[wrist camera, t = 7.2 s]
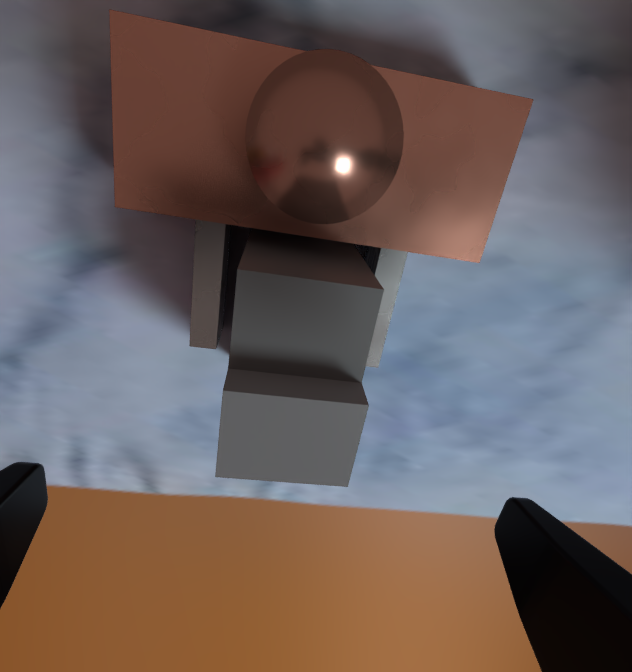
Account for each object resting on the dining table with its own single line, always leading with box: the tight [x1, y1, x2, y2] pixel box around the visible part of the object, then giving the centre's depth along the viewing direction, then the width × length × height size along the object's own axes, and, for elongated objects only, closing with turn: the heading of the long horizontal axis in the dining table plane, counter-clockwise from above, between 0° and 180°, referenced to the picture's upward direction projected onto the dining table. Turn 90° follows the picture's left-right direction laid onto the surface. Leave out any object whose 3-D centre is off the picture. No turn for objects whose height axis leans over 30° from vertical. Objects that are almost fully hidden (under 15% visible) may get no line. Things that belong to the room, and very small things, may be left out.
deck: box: [109, 9, 533, 368], centre depth 15 cm, size 12×10×4 cm
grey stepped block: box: [215, 228, 384, 487], centre depth 15 cm, size 4×6×7 cm, turn 170°
